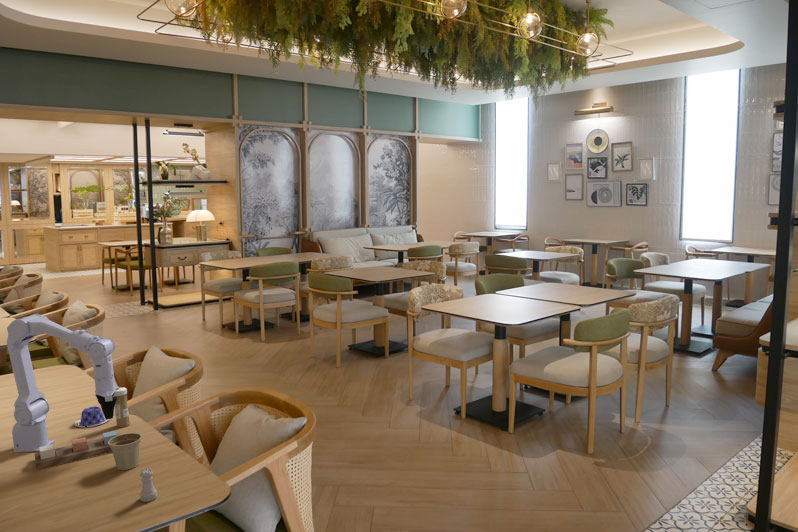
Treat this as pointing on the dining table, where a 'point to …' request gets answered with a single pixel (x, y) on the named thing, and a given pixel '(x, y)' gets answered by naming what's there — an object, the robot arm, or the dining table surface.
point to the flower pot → (126, 450)
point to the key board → (72, 454)
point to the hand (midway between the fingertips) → (108, 416)
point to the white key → (47, 451)
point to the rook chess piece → (147, 486)
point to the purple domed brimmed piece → (91, 417)
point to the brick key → (79, 444)
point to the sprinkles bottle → (121, 408)
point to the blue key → (108, 436)
